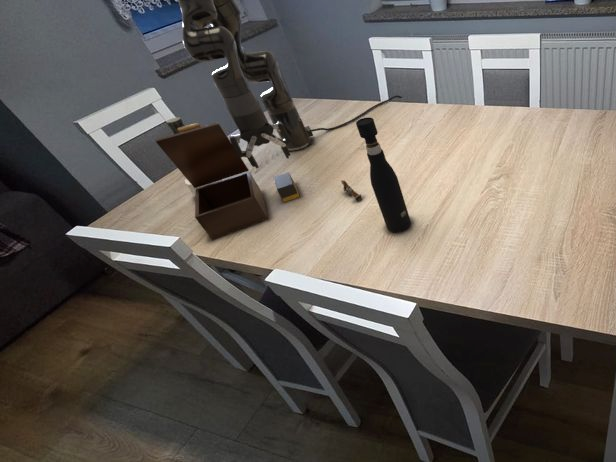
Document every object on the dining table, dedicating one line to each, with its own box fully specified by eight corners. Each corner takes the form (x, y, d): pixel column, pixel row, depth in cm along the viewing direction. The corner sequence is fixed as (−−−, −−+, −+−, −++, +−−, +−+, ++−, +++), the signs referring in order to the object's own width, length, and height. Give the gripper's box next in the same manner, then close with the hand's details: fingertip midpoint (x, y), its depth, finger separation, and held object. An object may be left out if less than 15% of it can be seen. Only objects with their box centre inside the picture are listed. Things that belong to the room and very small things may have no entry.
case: (268, 219, 115) (254, 197, 110) (211, 239, 110) (194, 217, 105) (262, 192, 126) (249, 171, 121) (210, 210, 121) (195, 188, 116)
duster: (295, 184, 128) (288, 171, 125) (299, 196, 122) (292, 183, 119) (280, 189, 127) (273, 176, 124) (284, 202, 121) (276, 189, 118)
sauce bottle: (207, 179, 136) (171, 125, 123) (192, 178, 137) (155, 125, 125) (221, 168, 141) (187, 115, 128) (206, 168, 142) (172, 115, 129)
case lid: (218, 123, 107) (215, 112, 109) (155, 141, 102) (153, 129, 104) (249, 170, 121) (245, 159, 123) (194, 188, 116) (192, 176, 118)
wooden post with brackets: (345, 186, 123) (344, 177, 119) (362, 203, 121) (361, 194, 117) (340, 189, 122) (338, 180, 118) (357, 206, 120) (356, 197, 116)
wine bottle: (388, 219, 110) (352, 116, 90) (411, 216, 110) (381, 113, 90) (385, 234, 105) (347, 129, 85) (410, 231, 105) (376, 125, 85)
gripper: (216, 121, 102) (247, 175, 112) (274, 106, 107) (299, 159, 117) (215, 112, 107) (245, 165, 117) (271, 97, 112) (295, 149, 122)
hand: (272, 162), depth 117 cm, fingers open, 8 cm apart
